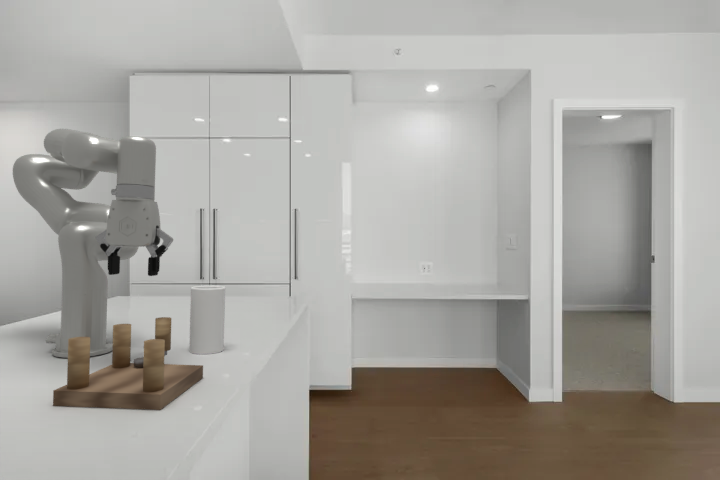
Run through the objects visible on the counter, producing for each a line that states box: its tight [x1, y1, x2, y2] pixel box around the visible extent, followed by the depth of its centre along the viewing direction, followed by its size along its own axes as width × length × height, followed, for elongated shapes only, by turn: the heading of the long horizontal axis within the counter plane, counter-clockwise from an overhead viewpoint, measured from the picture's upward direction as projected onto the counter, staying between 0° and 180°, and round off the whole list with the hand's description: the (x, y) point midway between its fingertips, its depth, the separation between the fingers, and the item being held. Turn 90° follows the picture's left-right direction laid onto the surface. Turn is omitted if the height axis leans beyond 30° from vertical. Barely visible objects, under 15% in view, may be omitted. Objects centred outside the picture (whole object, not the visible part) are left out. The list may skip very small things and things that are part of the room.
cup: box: [188, 285, 226, 355], centre depth 116 cm, size 8×8×16 cm
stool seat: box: [52, 323, 204, 411], centre depth 84 cm, size 18×18×11 cm
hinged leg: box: [133, 316, 172, 367], centre depth 96 cm, size 12×3×8 cm, turn 178°
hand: (133, 274), depth 100 cm, fingers open, 8 cm apart
